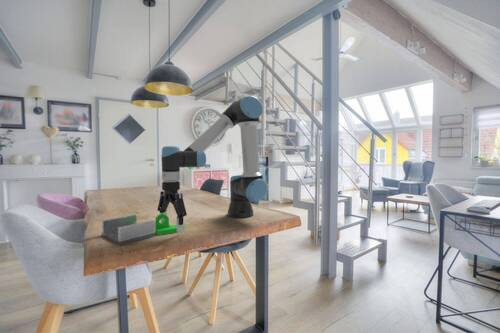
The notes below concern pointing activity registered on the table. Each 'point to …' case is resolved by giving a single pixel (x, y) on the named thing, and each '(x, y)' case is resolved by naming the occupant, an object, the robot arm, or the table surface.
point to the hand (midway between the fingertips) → (171, 229)
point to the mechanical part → (164, 226)
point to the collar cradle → (127, 229)
